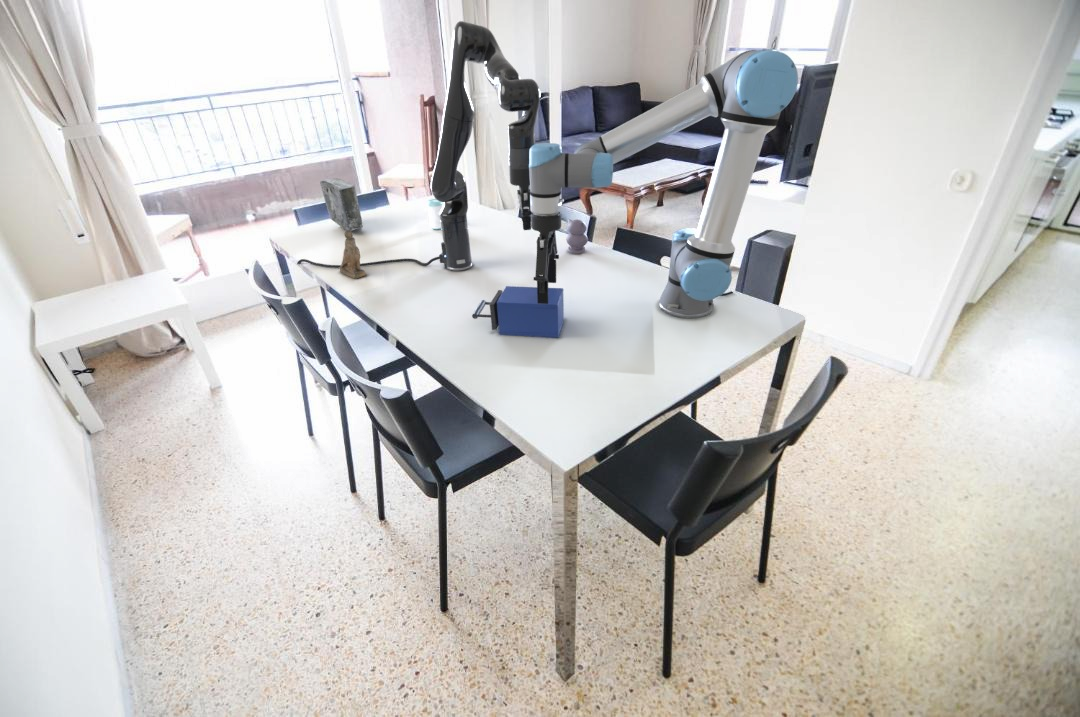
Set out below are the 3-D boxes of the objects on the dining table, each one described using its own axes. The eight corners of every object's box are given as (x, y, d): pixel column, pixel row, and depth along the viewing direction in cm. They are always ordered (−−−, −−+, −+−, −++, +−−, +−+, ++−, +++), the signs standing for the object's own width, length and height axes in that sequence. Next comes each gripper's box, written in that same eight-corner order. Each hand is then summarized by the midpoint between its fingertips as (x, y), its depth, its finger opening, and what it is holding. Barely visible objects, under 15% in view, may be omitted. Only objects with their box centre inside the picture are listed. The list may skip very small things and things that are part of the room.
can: (445, 229, 220) (441, 202, 214) (429, 230, 220) (425, 202, 214) (447, 224, 226) (444, 198, 220) (432, 225, 226) (428, 198, 220)
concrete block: (368, 232, 220) (358, 186, 209) (348, 237, 216) (336, 189, 205) (349, 220, 239) (338, 176, 228) (330, 223, 234) (319, 179, 224)
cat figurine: (592, 250, 190) (592, 219, 184) (579, 256, 185) (579, 224, 179) (574, 246, 195) (575, 215, 189) (561, 251, 191) (561, 220, 184)
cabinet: (499, 334, 136) (496, 302, 131) (508, 316, 145) (506, 285, 140) (558, 337, 133) (557, 304, 128) (563, 319, 142) (563, 288, 137)
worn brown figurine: (368, 281, 178) (362, 235, 166) (353, 285, 175) (347, 238, 163) (352, 266, 184) (346, 221, 172) (338, 270, 181) (331, 224, 169)
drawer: (473, 328, 137) (470, 303, 133) (482, 313, 145) (479, 289, 141) (545, 332, 134) (544, 306, 130) (550, 316, 142) (550, 292, 138)
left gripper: (538, 169, 126) (541, 232, 135) (535, 159, 139) (537, 217, 147) (509, 171, 126) (513, 233, 134) (508, 161, 138) (512, 219, 147)
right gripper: (553, 228, 110) (554, 313, 121) (567, 199, 131) (567, 275, 142) (520, 227, 112) (524, 311, 123) (539, 199, 132) (541, 274, 144)
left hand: (526, 225), depth 141 cm, fingers open, 8 cm apart
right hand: (547, 292), depth 133 cm, fingers open, 13 cm apart
